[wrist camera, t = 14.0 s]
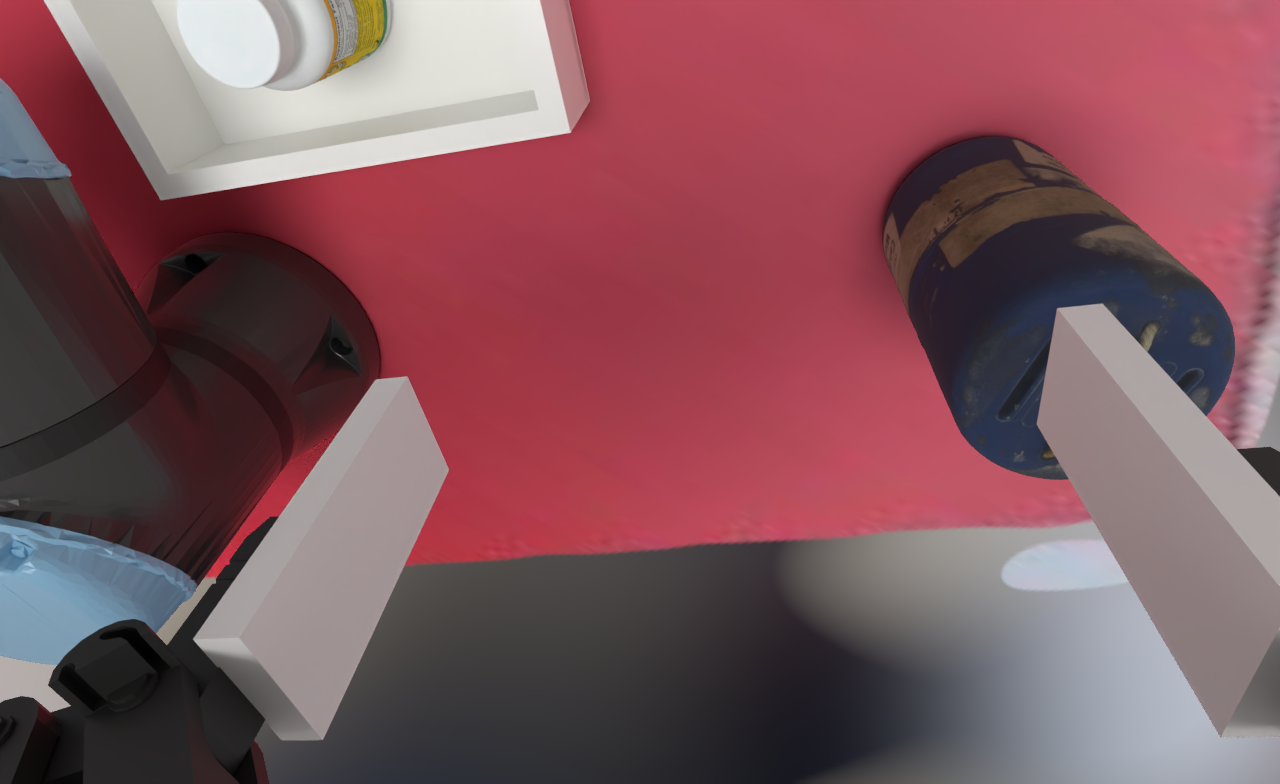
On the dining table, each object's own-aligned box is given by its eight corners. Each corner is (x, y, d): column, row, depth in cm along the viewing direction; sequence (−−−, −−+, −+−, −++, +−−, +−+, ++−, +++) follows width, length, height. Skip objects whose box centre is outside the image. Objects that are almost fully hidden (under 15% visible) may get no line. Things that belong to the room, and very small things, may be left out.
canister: (1101, 185, 37) (1346, 376, 23) (971, 319, 42) (1102, 544, 28) (959, 92, 35) (1127, 236, 21) (841, 244, 40) (909, 446, 26)
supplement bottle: (393, -48, 33) (293, -28, 25) (394, 72, 36) (304, 122, 28) (280, -76, 33) (143, -65, 25) (290, 46, 36) (171, 90, 28)
